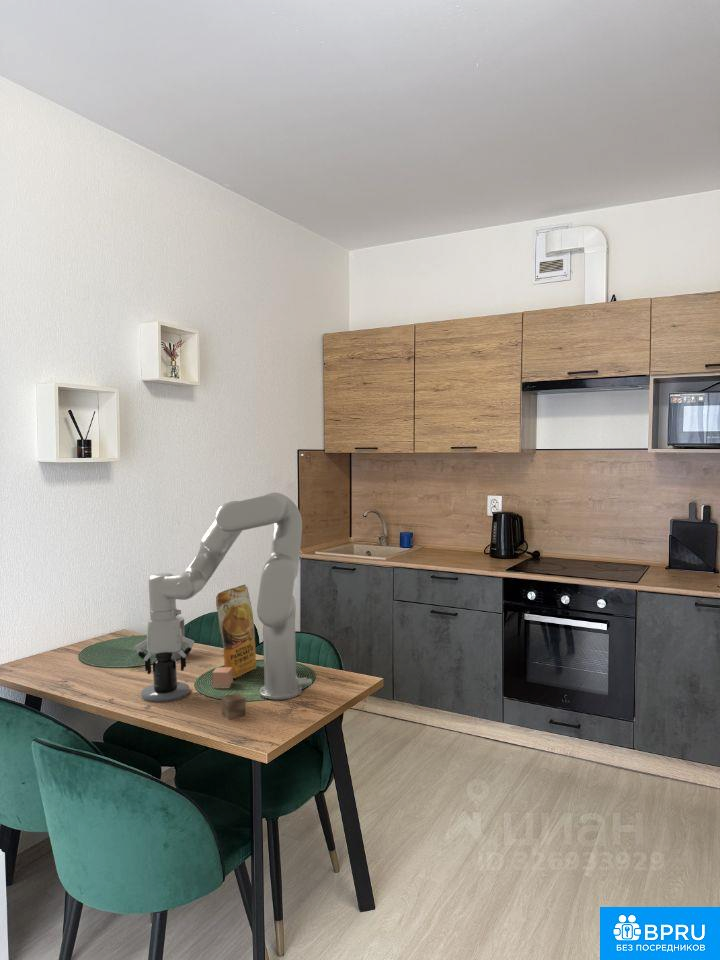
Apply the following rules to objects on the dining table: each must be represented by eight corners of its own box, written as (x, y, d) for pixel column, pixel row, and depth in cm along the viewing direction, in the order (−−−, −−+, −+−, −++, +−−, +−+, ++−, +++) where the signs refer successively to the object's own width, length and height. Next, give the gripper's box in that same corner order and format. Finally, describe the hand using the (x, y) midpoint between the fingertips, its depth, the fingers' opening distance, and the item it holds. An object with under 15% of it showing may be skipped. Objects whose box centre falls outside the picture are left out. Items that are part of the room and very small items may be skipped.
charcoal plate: (190, 683, 214) (190, 680, 214) (188, 699, 200) (188, 695, 200) (143, 687, 211) (143, 683, 211) (138, 704, 197) (138, 700, 197)
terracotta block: (232, 683, 214) (232, 667, 214) (228, 688, 209) (228, 672, 209) (217, 683, 214) (216, 667, 214) (212, 688, 209) (212, 672, 209)
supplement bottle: (168, 684, 210) (167, 645, 210) (181, 688, 206) (180, 649, 205) (149, 690, 205) (147, 651, 204) (162, 695, 201) (160, 655, 200)
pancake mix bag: (211, 680, 217) (208, 593, 216) (248, 663, 233) (246, 582, 232) (227, 683, 214) (225, 594, 212) (264, 665, 230) (262, 583, 229)
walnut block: (239, 710, 191) (238, 692, 191) (245, 716, 187) (245, 698, 187) (222, 714, 189) (221, 696, 188) (228, 720, 184) (228, 702, 184)
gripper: (193, 609, 210) (196, 664, 211) (134, 614, 206) (137, 670, 207) (192, 615, 202) (195, 672, 203) (131, 620, 199) (134, 678, 200)
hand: (166, 671), depth 205 cm, fingers open, 9 cm apart
